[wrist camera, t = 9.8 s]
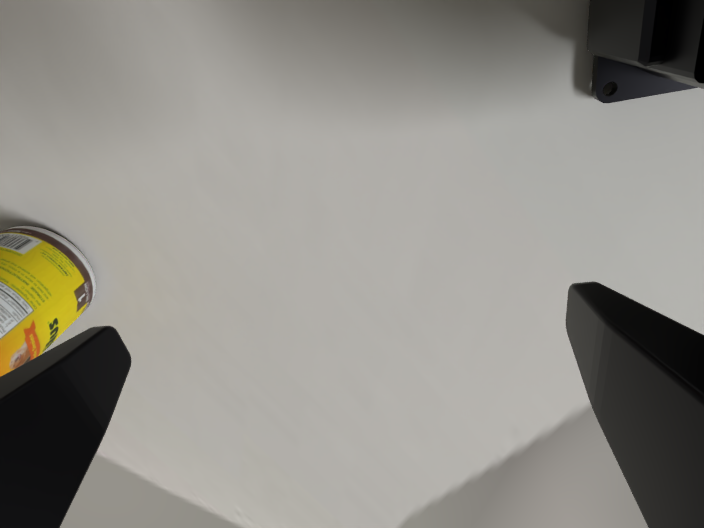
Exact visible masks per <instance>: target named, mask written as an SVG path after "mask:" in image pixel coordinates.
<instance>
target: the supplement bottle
mask: <svg viewBox="0 0 704 528" xmlns="http://www.w3.org/2000/svg"><path fill="white" fill-rule="evenodd" d="M95 291H96V281H95V276H94V273H93V270H92V268H91V266H90V264H89V262H88V261H87V259H86V258H85V257H84V255H83V254H82V253H81V252H80V251H79V250H78V249H77V248H76V247H75V246H74V245H73V244H71V243H70V242H69V241H67V240H66V239H64V238H63V237H61V236H59V235H57V234H55V233H53V232H51V231H48V230H45V229H42V228H38V227H32V226H17V227H11V228H8V229H5V230H3V231H1V232H0V377H1V376H3V375H5V374H6V373H8V372H10V371H12V370H14V369H16V368H17V367H19V366H21V365H23V364H25V363H27V362H29V361H30V360H32V359H34V358H36V357H38V356H40V355H41V354H42V353H43V352H44V351H45V350H46V349H47V348H48V347H49V346H50V345H51V344H52V343H53V342H54V341H55V340H56V339H57V338H58V337H59V336H60V335H61V334H62V333H63V332H64V331H65V330H66V329H67V328H68V327H69V326H70V325H71V324H72V323H73V322H74V321H75V320H76V319H77V318H78V317H79V316H80V315H81V314H82V313H83V312H84V311H85V310H86V309H87V307H88V306H89V305H90V304H91V302H92V300H93V298H94V295H95Z"/></svg>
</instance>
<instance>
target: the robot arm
mask: <svg viewBox="0 0 704 528" xmlns="http://www.w3.org/2000/svg"><path fill="white" fill-rule="evenodd" d="M587 49H588V50H589V51H590V52H591V53H592V54H593V55H594V63H593V77H592V95H593V97H594V98H595V99H597V100H599V101H601V102H603V103H612V102H618V101H623V100H629V99H635V98H641V97H646V96H652V95H658V94H664V93H669V92H675V91H681V90H687V89H692V88H698V87H699V88H702V89H704V0H590V7H589V24H588V40H587ZM609 82H612V83H613V88H612V90H611V91H610V92H609V93H608V94H603V88H604V86H605V85H606V84H607V83H609ZM566 329H567V334H568V337H569V340H570V343H571V346H572V349H573V352H574V355H575V358H576V361H577V364H578V367H579V370H580V373H581V376H582V379H583V382H584V385H585V388H586V391H587V394H588V397H589V400H590V403H591V405H592V408H593V411H594V413H595V415H596V417H597V419H598V422H599V424H600V426H601V428H602V430H603V432H604V435H605V437H606V439H607V441H608V443H609V445H610V447H611V449H612V452H613V454H614V456H615V458H616V460H617V462H618V464H619V466H620V468H621V470H622V473H623V475H624V477H625V479H626V481H627V483H628V485H629V487H630V489H631V492H632V494H633V496H634V498H635V500H636V502H637V504H638V506H639V508H640V510H641V512H642V515H643V517H644V519H645V521H646V523H647V525H648V527H649V528H704V335H702V334H700V333H698V332H696V331H694V330H692V329H690V328H688V327H686V326H684V325H682V324H680V323H678V322H676V321H674V320H672V319H670V318H668V317H666V316H664V315H662V314H660V313H658V312H656V311H654V310H652V309H650V308H648V307H646V306H644V305H642V304H640V303H638V302H636V301H634V300H632V299H630V298H628V297H626V296H624V295H622V294H620V293H618V292H616V291H614V290H612V289H610V288H608V287H606V286H604V285H602V284H600V283H598V282H584V283H574V284H572V285H571V286H570V288H569V290H568V300H567V312H566ZM130 367H131V356H130V353H129V351H128V350H127V348H126V346H125V344H124V343H123V341H122V339H121V337H120V335H119V334H118V332H117V330H116V329H115V328H113V327H111V326H100V327H92V328H90V329H88V330H86V331H84V332H82V333H80V334H78V335H76V336H75V337H73V338H71V339H69V340H67V341H65V342H64V343H62V344H60V345H58V346H56V347H54V348H52V349H51V350H49V351H47V352H45V353H43V354H41V355H40V356H38V357H36V358H34V359H32V360H30V361H29V362H27V363H25V364H23V365H21V366H19V367H17V368H16V369H14V370H12V371H10V372H8V373H6V374H5V375H3V376H1V377H0V528H60V526H61V524H62V522H63V519H64V517H65V515H66V513H67V511H68V509H69V507H70V505H71V503H72V501H73V499H74V497H75V495H76V493H77V491H78V488H79V486H80V484H81V483H82V480H83V478H84V476H85V474H86V472H87V470H88V468H89V466H90V464H91V462H92V460H93V458H94V456H95V454H96V452H97V450H98V448H99V445H100V443H101V441H102V439H103V437H104V435H105V433H106V430H107V428H108V425H109V423H110V420H111V417H112V415H113V412H114V409H115V407H116V404H117V401H118V399H119V396H120V393H121V391H122V388H123V385H124V383H125V380H126V377H127V375H128V372H129V369H130Z"/></svg>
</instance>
